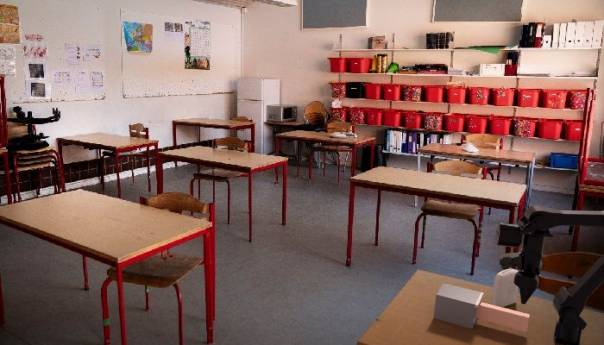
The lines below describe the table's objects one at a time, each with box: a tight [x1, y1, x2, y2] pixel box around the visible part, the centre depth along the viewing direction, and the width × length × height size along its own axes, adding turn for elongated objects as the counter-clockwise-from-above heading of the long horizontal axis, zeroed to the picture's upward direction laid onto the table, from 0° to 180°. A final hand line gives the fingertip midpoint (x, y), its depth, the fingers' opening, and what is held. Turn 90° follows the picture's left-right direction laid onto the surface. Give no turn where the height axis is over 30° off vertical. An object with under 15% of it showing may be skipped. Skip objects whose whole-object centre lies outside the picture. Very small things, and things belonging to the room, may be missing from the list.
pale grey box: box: [433, 283, 485, 330], centre depth 161 cm, size 13×10×8 cm
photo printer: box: [490, 268, 519, 308], centre depth 171 cm, size 10×4×12 cm, turn 123°
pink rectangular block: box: [475, 301, 531, 333], centre depth 155 cm, size 16×2×5 cm, turn 61°
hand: (524, 297), depth 150 cm, fingers open, 9 cm apart
